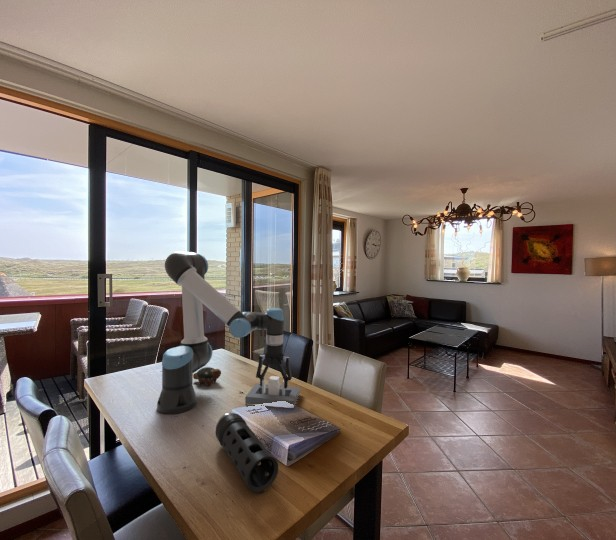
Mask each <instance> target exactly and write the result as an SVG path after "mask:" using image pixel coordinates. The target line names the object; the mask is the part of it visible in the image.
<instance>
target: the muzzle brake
mask: <svg viewBox="0 0 616 540" xmlns="http://www.w3.org/2000/svg"><path fill="white" fill-rule="evenodd" d="M215 438H216V440H217V441H218V443H219V444H220V446H222V447H223V448H224V450H225V452H226V453H227V455H228V456H229V459H230V460H231V461H232V463H233V465H234V466H235V468H236V470H237V471H238V473H239V474H240V476H241V477H242V480H243V481H244V483H245V484H246V486H247V488H248V489H249V490H250V491H251V492H253V493H259V494H262V493H264V492H265V491H266V490H267V489H268V488H269V487H271V486H272V484H273V483H274V482H275V480H276V478H277V476H278V472H279V463H278V459H276V458H275V457H274V455H273V454H272V452H270V450H268V448H267V447H266V445H264V443H263V442H262V441H261V439H260V438H258V436H257V435H256V433H254V432H253V430H252V428H250V427H249V426H248V424H247V422H246V421H245V419H244V418H243V417H242V416H241V415H240V414H238V413H234V412H227V413H225V414H223V415H222V416H221V417H219V419H218V420H217V422H216V426H215Z"/></svg>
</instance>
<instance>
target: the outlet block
mask: <svg viewBox="0 0 616 540" xmlns="http://www.w3.org/2000/svg"><path fill="white" fill-rule="evenodd" d="M300 389H301V388H300V386H290V385H289V386H287V388H285V395H284V396H282V385H279V395H268V384H266V385H265V394H262V386H260V383H255V384H254V386H253V387H252V388H250V391H248V393H247V394H246V396H245V403H244V404H245V406H253V405H252V404H263V403H272V402H277V401H286V402H288V403H290V404H293V405H295V404H296V405H297V402H298V400H297V399H299V397H300V395H299V394H300V392H301V391H300ZM298 396H299V397H298ZM296 401H297V402H296ZM246 404H247V405H246ZM296 405H295V406H296Z"/></svg>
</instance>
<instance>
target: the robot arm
mask: <svg viewBox="0 0 616 540" xmlns="http://www.w3.org/2000/svg"><path fill="white" fill-rule="evenodd" d="M164 270H165V273H166V274H167V276H168V277H169V278H170V279H171V280H172V281H173V282H174V283H175V284H176V285H178V287H179V286H180V287H181V297H182V298H181V300H182V302H181V303H182V317H183V319H182V320H183V339H182V340H180V345H179V346H176V347H171V348H169V349H167V350H166V351H165V352H164V353H163V355H162V361H161V369H162V370H161V371H162V372H161V376H162V378H161V381H162V382H161V391H160V395H159V397H158V400H157V404H156V405H157V406H156V410H157V412H158V413H161V414H165V415H175V414H176V415H177V414H180V413H185V412H187V411H190V410H192V409H193V408H195V406H197V398H198V397H197V395H196V392H195V388H194V384H193V379H194V378H193V375H194V374H195V373H197V372H198V371H199V370H200V369H202V368H205V366H206V365H207V364H208V363H209V362H210V361H211V359H212V356H213V347H212V345H210V343H209V339H208V337H206V336H205V331H204V310H203V307H204V306H205V307H207V309H209V310H210V312H211V313H213V314H214V315H215V316H216V317H218V318H219V319H220V321H222V322H223V323H224V324H225V325H226V326H228V328H229V332H230V335H231V336H232V337H234V338H237V339H240V338H243V337H246V336H248V335H249V334H250V333H252V332H254V331H255V330H260V331H261V330H264V331H266V332H265V334H266V336H265V341H266V342H265V343H266V345H265V354H260V355H259V356H258V365H257V371H256V374H255V378H256V379H259V384H260V386H262V394H265V385H267V384H266V379H267V378H266V377H265V376H266V374H267V373H268V372H267V371H268V370H269V368H270V366H273V365H274V366H277V368H278V369H279V372H280V375H281V377H282V379H283V380H282V382H281V383H282V384H281V386H282V396H284V395H285V388H287V386H288V385H289V381H291V380H292V379H293V374H292V370H291V365H290V364H291V363H290V360H291V357H290V356H285V355H284V344H283V343H284V321H285V319H284V310H283V309H282V308H279V307H270V308H267V309H266V312H258V311H243V312H242V311H241V310H240V309H238V308H237V307H236V306H235V305H234V304H233V303H232V302H230V301H229V300H228V299H227V298H226V297H225V296H224V295H223V294H221V293H220V292H219V291H218V290H217V289H216V288H215V287H213V285H211V284H210V283H209V282H208V281H207V280H206V278H205V275H206V273H207V272H208V270H209V263H208V261H207V259H206V257H205V256H204V255H202V254H200V253H198V252H193V251H190V252H189V251H174V252H172V253H171V254H169V255H168V256H167V257H166V259H165V261H164ZM264 360H266V361H267V362H266V365H265V366H264V369H263V371H262V367H263V363H264ZM283 360H284V362H285V368H286V370H285V368H284V365H283V363H282V361H283Z"/></svg>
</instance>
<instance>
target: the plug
mask: <svg viewBox="0 0 616 540" xmlns="http://www.w3.org/2000/svg"><path fill="white" fill-rule="evenodd" d="M280 380H281V379H280V376H277V375H276V376H275V375H271V376H270V377H269V378H268V380H267V381H268V384H267V385H268V395H279V386H280Z"/></svg>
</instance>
